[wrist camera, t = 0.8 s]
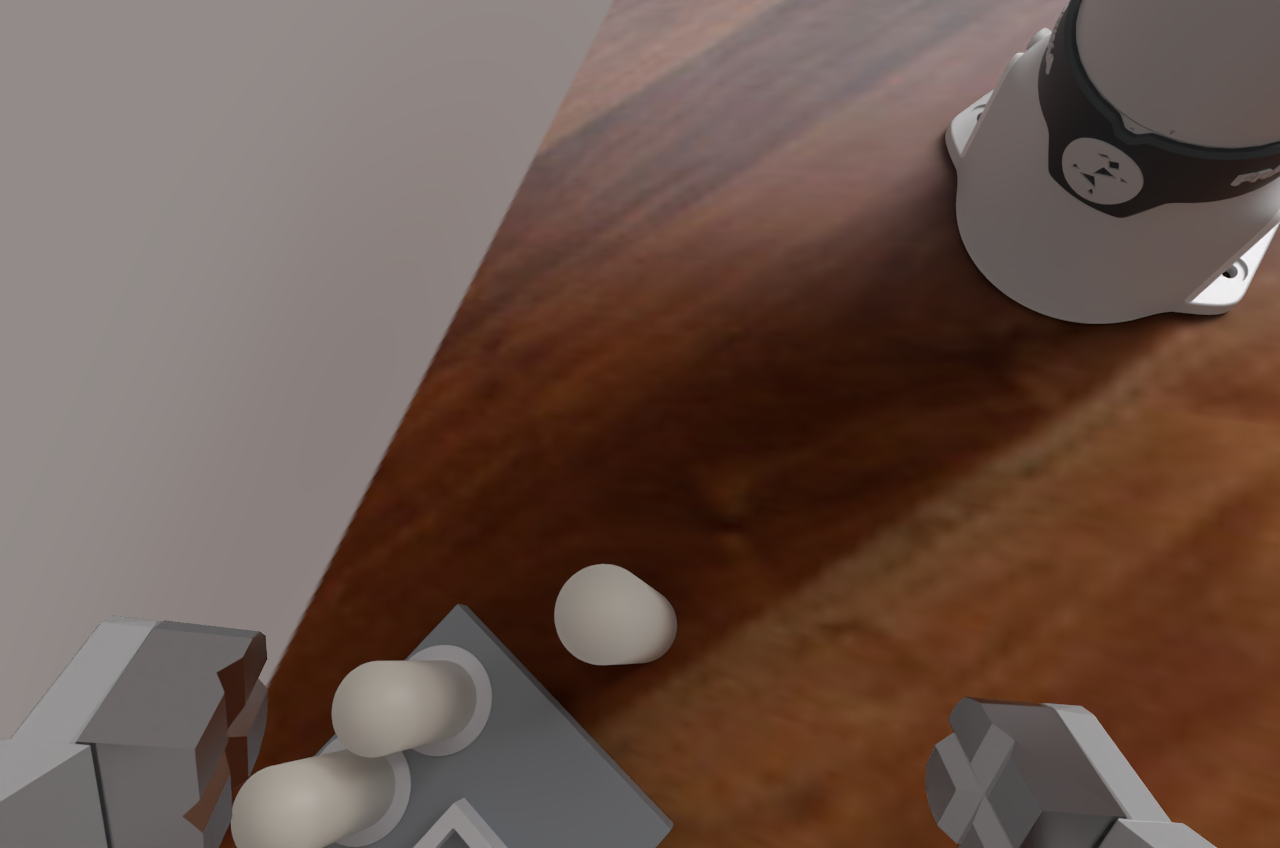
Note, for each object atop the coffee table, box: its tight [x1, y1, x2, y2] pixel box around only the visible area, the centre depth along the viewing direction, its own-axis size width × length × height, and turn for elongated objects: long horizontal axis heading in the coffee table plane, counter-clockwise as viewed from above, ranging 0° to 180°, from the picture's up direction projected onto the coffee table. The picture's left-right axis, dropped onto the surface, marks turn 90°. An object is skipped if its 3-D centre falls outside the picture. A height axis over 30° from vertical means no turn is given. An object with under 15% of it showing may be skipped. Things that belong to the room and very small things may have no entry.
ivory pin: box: [554, 564, 677, 665], centre depth 38 cm, size 4×4×12 cm
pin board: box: [231, 604, 674, 848], centre depth 38 cm, size 14×16×10 cm
